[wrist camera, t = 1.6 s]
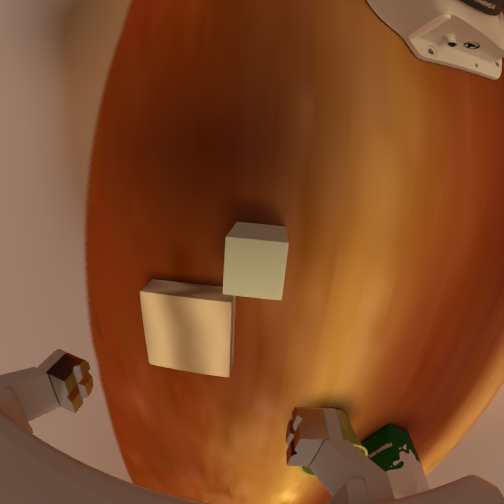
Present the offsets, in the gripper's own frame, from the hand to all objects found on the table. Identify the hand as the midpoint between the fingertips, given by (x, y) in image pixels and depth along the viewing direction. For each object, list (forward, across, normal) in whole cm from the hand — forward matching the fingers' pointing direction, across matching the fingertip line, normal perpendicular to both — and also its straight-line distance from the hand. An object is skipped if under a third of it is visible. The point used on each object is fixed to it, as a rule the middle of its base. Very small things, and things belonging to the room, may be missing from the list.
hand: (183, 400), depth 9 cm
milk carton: (+22, -30, +30) cm, 48 cm away
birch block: (+22, +4, +10) cm, 25 cm away
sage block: (+22, -2, -1) cm, 22 cm away
